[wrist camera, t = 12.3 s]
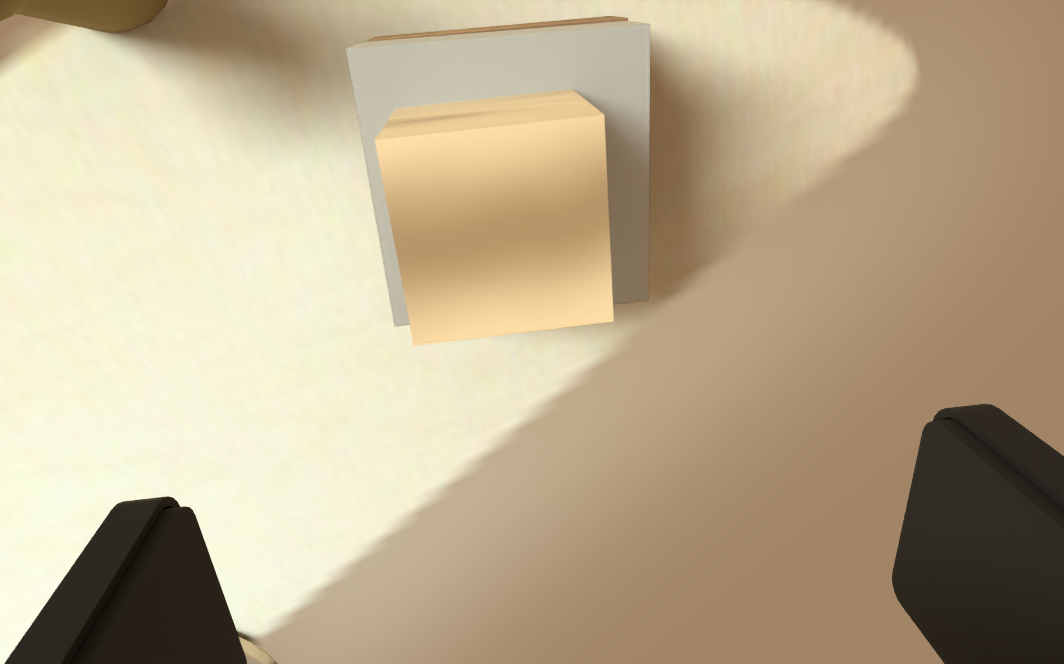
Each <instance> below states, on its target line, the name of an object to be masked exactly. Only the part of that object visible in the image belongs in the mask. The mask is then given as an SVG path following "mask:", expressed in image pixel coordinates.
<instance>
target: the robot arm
mask: <svg viewBox="0 0 1064 664" xmlns="http://www.w3.org/2000/svg"><path fill="white" fill-rule="evenodd" d="M892 583H893V588H894V592H895V594H896V597H897V599H898V601H899V602H900V604H901V605H902V607H903V608H904V610H905V611H906V612H907V613H908V615H909V616H910V617H911V619H912V620H913V622H914V623H915V624H916V625H917V627H918V628H919V630H920V631H921V632H922V634H923V635H924V636H925V638H926V639H927V640H928V642H929V643H930V644H931V646H932V647H933V649H934V650H935V651H936V653H937V654H938V655H939V657H940V658H941V659H942V661H943V662H944V663H945V664H1064V456H1063V455H1061V454H1060V453H1059V452H1057V451H1056V450H1054V449H1053V448H1052V447H1050V446H1049V445H1048V444H1046V443H1045V442H1044V441H1042V440H1041V439H1040V438H1038V437H1037V436H1035V435H1034V434H1033V433H1032V432H1030V431H1029V430H1027V429H1026V428H1025V427H1023V426H1022V425H1021V424H1019V423H1018V422H1016V421H1015V420H1014V419H1013V418H1011V417H1010V416H1008V415H1007V414H1006V413H1004V412H1003V411H1002V410H1000V409H999V408H997V407H995V406H993V405H989V404H980V405H971V406H962V407H953V408H945V409H943V410H940V411H939V412H938V413H937V414H936V415H935V417H934V419H933V421H932V422H929V423H927V424H926V426H925V427H924V429H923V432H922V437H921V441H920V446H919V451H918V456H917V460H916V465H915V470H914V474H913V479H912V484H911V488H910V493H909V498H908V502H907V507H906V512H905V516H904V521H903V526H902V531H901V535H900V540H899V545H898V549H897V554H896V559H895V563H894V568H893V573H892ZM5 664H277V662H275V661H274V660H273V659H272V658H271V657H270V656H269V655H268V654H267V653H266V652H265V651H263V650H262V649H260V648H259V647H257V646H256V645H255V644H253V643H251V642H249V641H247V640H245V639H243V638H241V637H239V636H238V633H237V631H236V628H235V625H234V622H233V620H232V617H231V614H230V611H229V608H228V606H227V603H226V600H225V597H224V594H223V592H222V589H221V586H220V583H219V580H218V578H217V575H216V572H215V569H214V566H213V564H212V561H211V558H210V555H209V552H208V550H207V547H206V544H205V541H204V538H203V536H202V533H201V530H200V527H199V524H198V522H197V519H196V516H195V514H194V512H193V510H192V509H191V508H190V507H180V506H179V504H178V502H177V501H176V500H175V499H174V498H172V497H160V498H151V499H142V500H133V501H125V502H121V503H119V504H117V505H116V506H115V507H114V508H113V509H112V510H111V511H110V513H109V514H108V516H107V517H106V519H105V520H104V521H103V523H102V524H101V526H100V527H99V529H98V530H97V531H96V533H95V534H94V536H93V537H92V539H91V540H90V541H89V543H88V544H87V546H86V547H85V549H84V550H83V552H82V553H81V554H80V556H79V557H78V559H77V560H76V562H75V563H74V564H73V566H72V567H71V569H70V570H69V572H68V573H67V575H66V576H65V577H64V579H63V580H62V582H61V583H60V585H59V586H58V587H57V589H56V590H55V592H54V593H53V595H52V596H51V597H50V599H49V600H48V602H47V603H46V605H45V606H44V608H43V609H42V610H41V612H40V613H39V615H38V616H37V618H36V619H35V620H34V622H33V623H32V625H31V626H30V628H29V629H28V631H27V632H26V633H25V635H24V636H23V638H22V639H21V641H20V642H19V643H18V645H17V646H16V648H15V649H14V651H13V652H12V653H11V655H10V656H9V658H8V659H7V661H6V662H5Z"/></svg>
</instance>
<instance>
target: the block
mask: <svg viewBox="0 0 1064 664" xmlns="http://www.w3.org/2000/svg"><path fill="white" fill-rule="evenodd" d="M375 144H376V149H377V154H378V160H379V165H380V170H381V175H382V181H383V186H384V191H385V196H386V202H387V207H388V212H389V217H390V223H391V228H392V233H393V238H394V243H395V249H396V254H397V259H398V264H399V270H400V275H401V280H402V285H403V291H404V296H405V301H406V306H407V312H408V317H409V322H410V327H411V333H412V338H413V343H414V346H417V345H425V344H433V343H441V342H450V341H458V340H466V339H474V338H482V337H490V336H498V335H506V334H515V333H523V332H531V331H539V330H547V329H555V328H563V327H572V326H580V325H588V324H596V323H604V322H612V321H614V318H613V296H612V274H611V252H610V230H609V207H608V185H607V163H606V141H605V119H604V114H603V113H602V112H600V111H599V110H598V109H597V108H595V107H594V106H593V105H592V104H590V103H589V102H588V101H587V100H585V99H584V98H583V97H581V96H580V95H579V94H578V93H576V92H575V91H574V90H573V89H568V90H559V91H550V92H540V93H531V94H522V95H513V96H504V97H495V98H486V99H477V100H467V101H458V102H449V103H440V104H431V105H422V106H413V107H404V108H396V109H395V111H394V112H393V114H392V115H391V117H390V118H389V120H388V121H387V123H386V124H385V126H384V127H383V129H382V130H381V132H380V133H379V135H378V136H377V138H376V139H375Z"/></svg>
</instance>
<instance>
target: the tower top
mask: <svg viewBox="0 0 1064 664" xmlns="http://www.w3.org/2000/svg"><path fill="white" fill-rule="evenodd" d="M346 53H347V59H348V65H349V70H350V76H351V82H352V87H353V93H354V99H355V105H356V110H357V116H358V122H359V127H360V133H361V139H362V144H363V150H364V156H365V161H366V167H367V173H368V178H369V184H370V190H371V195H372V201H373V207H374V212H375V218H376V224H377V229H378V235H379V241H380V246H381V252H382V258H383V263H384V269H385V275H386V280H387V286H388V292H389V297H390V303H391V309H392V314H393V320H394V326H395V327H396V326H406V325H410V322H409V317H408V312H407V306H406V301H405V296H404V291H403V285H402V280H401V275H400V270H399V264H398V259H397V254H396V249H395V243H394V238H393V233H392V228H391V223H390V217H389V212H388V207H387V202H386V196H385V191H384V186H383V181H382V175H381V170H380V165H379V160H378V154H377V149H376V144H375V139H376V138H377V136H378V135H379V133H380V132H381V130H382V129H383V127H384V126H385V124H386V123H387V121H388V120H389V118H390V117H391V115H392V114H393V112H394V111H395V109H396V108H404V107H413V106H422V105H431V104H440V103H449V102H458V101H467V100H477V99H486V98H495V97H504V96H513V95H522V94H531V93H540V92H550V91H559V90H568V89H573V90H574V91H575V92H576V93H578V94H579V95H580V96H581V97H583V98H584V99H585V100H587V101H588V102H589V103H590V104H592V105H593V106H594V107H595V108H597V109H598V110H599V111H600V112H602V113H603V114H604V119H605V141H606V163H607V185H608V207H609V230H610V252H611V274H612V296H613V304H622V303H632V302H642V301H649V143H650V24H645V23H637V22H629V21H618V22H606V23H593V24H581V25H568V26H556V27H544V28H531V29H519V30H506V31H494V32H481V33H469V34H457V35H444V36H432V37H419V38H407V39H394V40H382V41H370V42H361V43H359V44H356V45H354V46H351V47H349V48H346Z"/></svg>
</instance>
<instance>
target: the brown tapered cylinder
mask: <svg viewBox="0 0 1064 664" xmlns="http://www.w3.org/2000/svg"><path fill="white" fill-rule="evenodd" d="M166 3H167V0H0V21H2V20H4V19H7V18H9V17H11V16H13V15H14V14H19V15H24V16H29V17H34V18H39V19H44V20H49V21H54V22H59V23H64V24H69V25H74V26H78V27H83V28H88V29H93V30H98V31H103V32H112V31H129V30H132V29H134V28H137V27H139V26H141V25H144V24H146V23H149V22H150V21H151V20H152V19H153V18H154V17H155V16H156V15H157V14H158V13H159V12H160V11H161V10H162V9H163V8H164V7H165V5H166Z"/></svg>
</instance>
